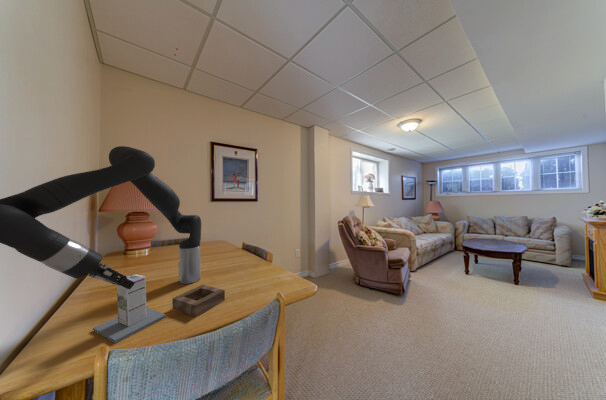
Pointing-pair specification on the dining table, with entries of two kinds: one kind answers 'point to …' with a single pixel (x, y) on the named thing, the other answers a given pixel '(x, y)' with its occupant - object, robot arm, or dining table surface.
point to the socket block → (195, 308)
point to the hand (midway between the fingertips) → (124, 283)
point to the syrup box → (132, 301)
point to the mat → (120, 332)
